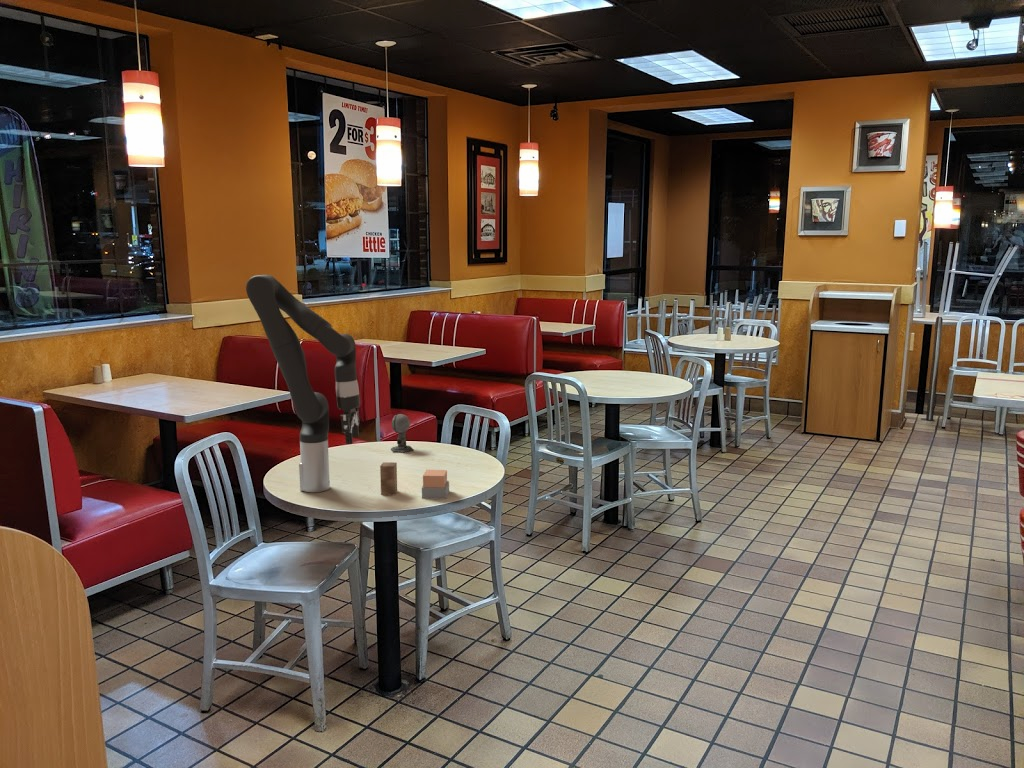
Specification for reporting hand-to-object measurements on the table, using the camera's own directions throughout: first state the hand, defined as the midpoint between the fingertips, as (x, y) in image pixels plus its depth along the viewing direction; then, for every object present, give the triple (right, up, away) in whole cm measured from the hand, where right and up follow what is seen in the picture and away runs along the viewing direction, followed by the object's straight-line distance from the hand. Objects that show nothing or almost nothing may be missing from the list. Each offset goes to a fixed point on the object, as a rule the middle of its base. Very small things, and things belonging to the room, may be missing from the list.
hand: (352, 440), depth 261 cm
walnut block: (+12, -18, -1) cm, 22 cm away
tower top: (+28, -14, -3) cm, 32 cm away
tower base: (+28, -18, -2) cm, 34 cm away
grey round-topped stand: (+9, -8, +54) cm, 55 cm away
